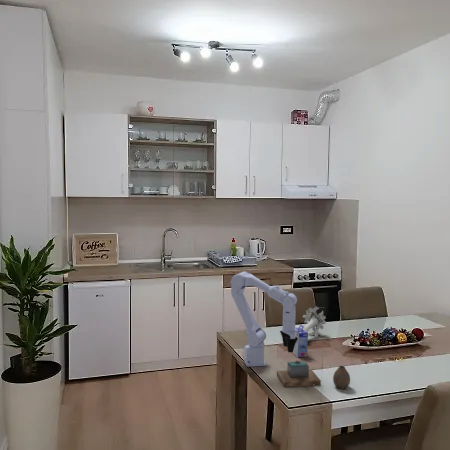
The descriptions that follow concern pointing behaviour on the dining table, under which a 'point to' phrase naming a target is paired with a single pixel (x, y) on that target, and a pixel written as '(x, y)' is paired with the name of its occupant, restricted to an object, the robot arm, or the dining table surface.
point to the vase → (341, 378)
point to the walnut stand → (298, 379)
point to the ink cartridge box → (301, 343)
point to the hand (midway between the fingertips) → (288, 349)
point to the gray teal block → (298, 371)
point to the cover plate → (297, 363)
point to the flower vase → (313, 321)
